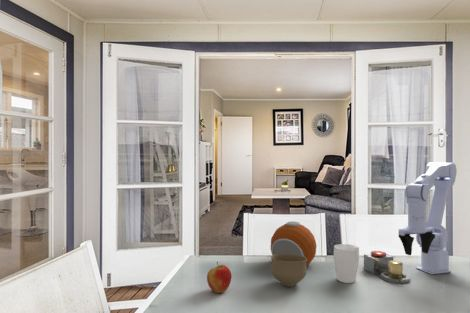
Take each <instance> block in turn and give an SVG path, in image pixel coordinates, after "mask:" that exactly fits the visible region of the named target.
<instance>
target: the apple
mask: <svg viewBox="0 0 470 313" xmlns="http://www.w3.org/2000/svg"><path fill="white" fill-rule="evenodd" d="M218 263H219V262H218V261H216V265H217V266H215V267H213V268H210V270H209V271H208V272H207V275H206V281H207V285H208V287H209V288H210V290H211V291H212V292H214V293H216V294H222V293H224V292H226V291H227V290H228V288H229V287H230V285H231V283H232V272H231V270H230V268H229V267H228V266H226V265H225V264H218Z"/></svg>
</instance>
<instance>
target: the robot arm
mask: <svg viewBox="0 0 470 313" xmlns="http://www.w3.org/2000/svg"><path fill="white" fill-rule="evenodd" d="M456 178H457V165H456V164H455V163H454V162H453V161H452V162H432V161H429V162H428V163H426V167H425V173H423V174H421V175H419V177H417V179H416V180H414V182H413V183H409V184H407V185H406V186H405V192H404V193H405V194H404V195H405V198H406V204H407V207H408V208H407V209H408V210H407V217H408V218H407V226H406V227H403V228H400V229H399V228H398V238H399V239H400V241H401V243H402V246H403V250H404V253H405V255H407V256H411V255H412V252H413V242H414V239H415V241H416V242H417V245H419V247H420V250H421V251H420V252H421V253H420V254H421V255H420V260H421V261H420V266H415V269H418V270H419V271H422V272H425V273H427V274H430V275H437V274H444V273H451V272H452V271H451V270H450V264H449V263H450V255H449V252H448V250H447V245H448V240H449V239H448V237H449V236H448V235H449V233H448V230H447V229H446V228H445V227H444V226H443V225H442V223H443V217H444V213H445V209H446V203H447V199H448V193H449V190H450V187H452V186H454V185H455V182H456ZM433 187H434V190H433V196H432V201H431V204H430V208H429V214H428V218H427V217H426V214H427V213H426V211H427V207H426V204H427V202H426V201H427V200H428V199H429V196H430V191H431V189H432V188H433ZM426 218H427V219H426ZM426 220H427V221H426ZM412 235H415V237H413V236H412Z"/></svg>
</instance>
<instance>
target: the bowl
mask: <svg viewBox="0 0 470 313" xmlns="http://www.w3.org/2000/svg"><path fill="white" fill-rule="evenodd" d="M270 259H271V268H270V269H271V273H272V276H273V277H274V278H275V279H276V280H277V281H278V282H279V283H280V284H281V285H282V286H284V287H295V286H297V284H298V283H300V282H301V281H302V280H304V279H305V277H306V275H307V267H306V262H307V258H306V257H304V256H300V255H294V254H276V255H272V254H271V256H270Z"/></svg>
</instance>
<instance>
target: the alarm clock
mask: <svg viewBox="0 0 470 313" xmlns="http://www.w3.org/2000/svg"><path fill="white" fill-rule="evenodd" d="M270 252H271V253H270V254H271V256H272V255H276V254H294V255H300V256H304V257H306V258H307V262H306V268H307V267H308V266H309V265H310V264H311V263H312V261H313V260H314V258H315V256H316V255H317V254H316V253H317V242H316V238H315V235H314V234H313V233H312V231H311V230H310V229H309V228H308V227H306V226H305V225H303V224H301V223H300V222H299V221H287V222H286V223H285V224H283V225H280V226H279V227H278V228H277V229H275V231H274V232H273V235H272V237H271V239H270Z"/></svg>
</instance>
